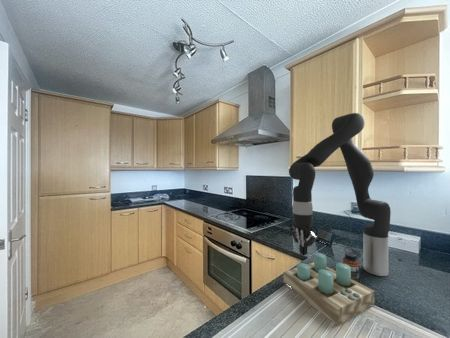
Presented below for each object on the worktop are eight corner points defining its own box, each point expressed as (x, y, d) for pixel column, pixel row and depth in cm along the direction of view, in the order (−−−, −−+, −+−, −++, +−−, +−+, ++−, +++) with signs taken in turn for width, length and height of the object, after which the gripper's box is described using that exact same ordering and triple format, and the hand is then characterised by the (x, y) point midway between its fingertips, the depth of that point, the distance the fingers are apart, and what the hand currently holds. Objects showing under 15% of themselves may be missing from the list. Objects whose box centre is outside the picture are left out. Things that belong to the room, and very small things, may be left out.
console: (316, 271, 90) (316, 260, 90) (374, 304, 68) (374, 289, 68) (283, 283, 81) (283, 271, 81) (338, 325, 60) (338, 308, 60)
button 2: (319, 265, 86) (319, 252, 86) (329, 270, 81) (329, 256, 81) (311, 268, 84) (311, 254, 84) (321, 273, 79) (321, 259, 79)
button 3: (324, 283, 72) (324, 268, 72) (336, 291, 68) (336, 274, 68) (315, 287, 70) (315, 271, 70) (327, 295, 66) (327, 278, 66)
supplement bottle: (344, 274, 88) (343, 249, 88) (359, 279, 84) (359, 253, 84) (341, 280, 83) (341, 254, 83) (358, 285, 79) (358, 258, 79)
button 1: (303, 276, 81) (302, 262, 81) (312, 282, 77) (312, 267, 77) (294, 279, 79) (294, 264, 79) (303, 285, 75) (303, 270, 75)
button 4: (341, 276, 77) (341, 262, 77) (353, 283, 72) (353, 267, 72) (333, 280, 75) (333, 264, 75) (345, 287, 70) (345, 270, 70)
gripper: (323, 214, 73) (324, 259, 74) (296, 207, 85) (297, 246, 86) (309, 216, 70) (310, 263, 70) (283, 209, 82) (284, 250, 82)
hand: (303, 254), depth 78 cm, fingers closed
